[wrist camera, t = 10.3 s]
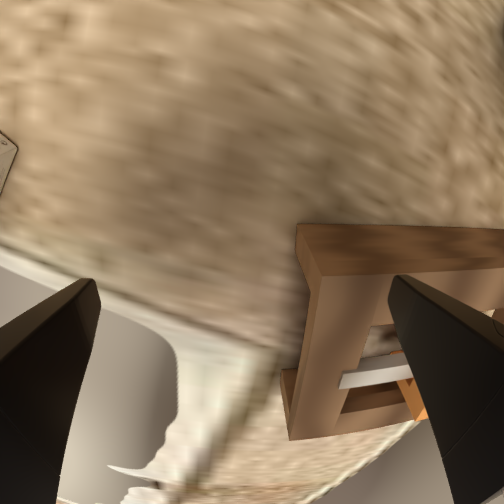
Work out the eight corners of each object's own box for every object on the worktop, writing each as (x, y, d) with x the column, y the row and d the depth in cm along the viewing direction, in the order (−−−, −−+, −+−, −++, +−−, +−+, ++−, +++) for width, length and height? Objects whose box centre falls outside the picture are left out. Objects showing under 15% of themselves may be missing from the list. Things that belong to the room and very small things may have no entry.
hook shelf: (504, 229, 23) (551, 266, 17) (451, 359, 30) (477, 402, 24) (297, 224, 21) (323, 279, 15) (279, 383, 29) (289, 443, 23)
